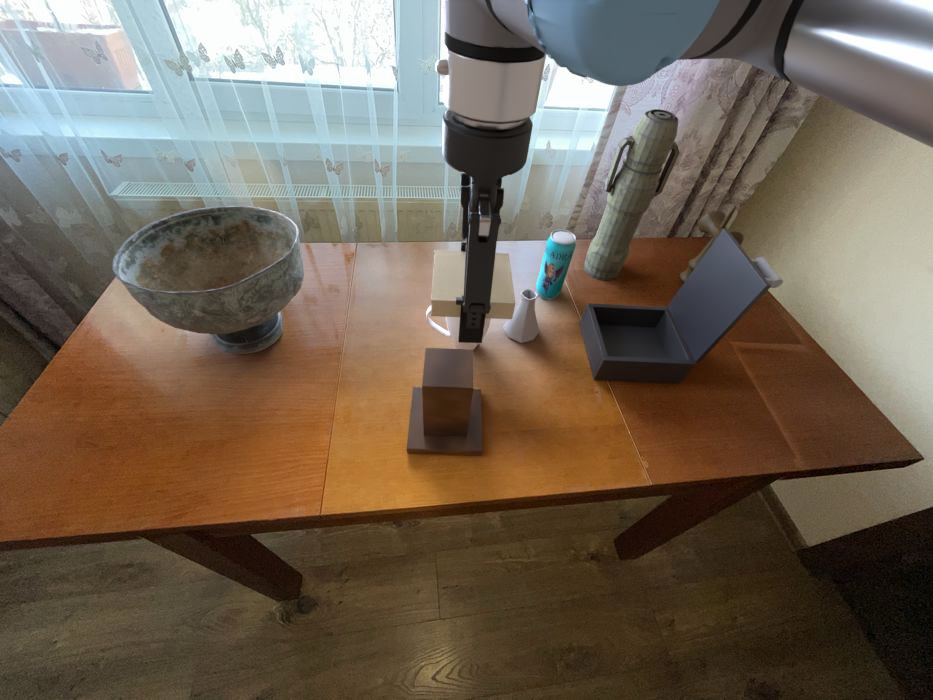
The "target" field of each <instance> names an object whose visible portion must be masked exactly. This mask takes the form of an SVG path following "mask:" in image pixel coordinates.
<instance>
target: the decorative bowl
mask: <svg viewBox="0 0 933 700" xmlns="http://www.w3.org/2000/svg"><path fill="white" fill-rule="evenodd" d="M111 267H112V268H111V269H112V271H113V273H114V276H115V278H116V279H117V280H118V281H120V282H121V284H122V285H123V286H124V288H125V289H126V290H127V291H128V293H129V294H130V296H131V297H132V298H133V299H134V300H135V301H136V302H137V303H138V304H139V305H141V306H142V307H143V308H144V309H145V310H147V312H148V313H149V314H150V316H152V317H154V318H155V319H157V320H158V321H160V322H162V323H164V324H166V325H168V326H170V327H173V328H174V329H178V330H181V331H187V332H192V333H196V334H204V335H205V334H206V335H211V336H212V339H213V341H214V343H215V345H216V347H218V348H219V349H220V350H222V351H223V352H226V353H230V354H233V355H246V354H253V353H257V352H260V351H264V350H265V349H267V348H268V347H270V346H272V345H274V344H275V343H276V342H277V341H278V340H279V339H280V338H281V336H283V333H284V321H283V315H282V313H281V311H283V309H284V308H285V307H286V306H288V304H289V303H290V302H291V300H292V299H294V298H295V297H296V296H297V294H298V293H299V291H300V290H301V288H302V285H303V282H304V278H305V269H304V260H303V257H302V249H301V241H300V231H299V228H298V226H297V224H296V223H295V221H293V220H292V219H291V218H290V217H288V216H287V215H285V214H282V213H280V212H278V211H275V210H271V209H267V208H263V207H257V206H251V205H217V206H209V207H208V206H207V207H202V208H201V207H200V208H193V209H189V210H186V211H181V212H177V213H174V214H171V215H168V216H166V217H163V218H160V219H157V220H155V221H153V222H151V223H149V224H147V225H146V226H144V227H141V228H140V230H138V231H136V232H134V234H132V235H131V236H129V237H128V238H127V239H126V240H125V241H124V242H123V243H122V244H121V245H120V247H119V248H118V250H117V251H116V253H115V254H114V256H113V259H112V266H111Z"/></svg>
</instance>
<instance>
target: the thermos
mask: <svg viewBox="0 0 933 700" xmlns="http://www.w3.org/2000/svg"><path fill="white" fill-rule="evenodd" d="M678 129H679V118H678V116H676V114H675V113H673V112H671V111H669V110H665V109H660V108H659V109H658V108H657V109H656V108H653V109H650V110H647V111H645V112H644V113H643V115H642V116H641V118H640V119H639V121H638V122H637V124H636V125H635V127H634V129H633V132H632V135H628V137H624V138H623V139H622V140H621V141H620V142H619V143H618V144H617V146H616V149H615V152H614V155H613V159H612V161H611V164H610V167H609V170H608V173H607V176H606V179H605V183H604V187H603V190H604V191H605V192H606V193H607V196H606V201H607V203H606V205H605V209H604V211H603V214H602V217H601V220H600V222H599V225H598V228H597V231H596V234H595V236H594V237H593V238H592V240H591V241H590V244H589V246H588V250H587V252H586V255H585V261H584V263H583V270H584V272H585V273H587V274H588V276H590V277H592V278H593V279H597V280H600V281H612V280H615V279H617V277H618V276H619V274H620V271H621V269H623V266H624V265H625V262H626V260H627V257H628V256H629V253H630V245H631V242H632V240H633V238H634V236H635V233H636V231H637V229H638V227H639V224H640V222H641V219H642V217H643V215H644V214H645V213H646V212H647V211H648V209H649V207H650V205H651V203H652V200H654V198H655V197H658V196H659V195H660V194H662V193H663V190H664V188H665V186H666V184H667V182H668V179H669V178H670V175H671V173H672V171H673V169H674V167H675V164H676V162H677V160H678V158H679V156H680V150H679V149H680V148H679V146H678V144H677V142H676V141H675V140H676V138H677V135H678ZM626 148H627V149H626ZM625 149H626V152H625V158H624V159H623V160H622V163H621V166H620V167H619V165H620V162H621V159H622V156H623V153H624V151H625ZM663 165H664V167H663ZM618 167H619V169H618Z"/></svg>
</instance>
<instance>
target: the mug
mask: <svg viewBox="0 0 933 700" xmlns="http://www.w3.org/2000/svg"><path fill="white" fill-rule="evenodd" d="M425 313H426V314H425V319H426V322H427V324H428V326H429V327H431V328H432V329H433V330H434V331H436V332H437V333H439V334H441V335H443V336H444V337H446V338H451V339H452V341H453V343H454V345H455V347H456V349H470V350H473V351H474V350H475V349H476V347H477V346H478V345H479V343H462V342H459V325H460V317H444V318H445V324H446V328H447V329H445V328H443V327H442V326H440V325H438V324H437V323H435V322H434V321H433V320H432V319H431V317H430V315H431V305H430V306H429V307H428V308H427V310H426V312H425ZM491 320H492V319H491V318H485V324H484V331H483V338H484V337H485V336H486V334H487V332H488V330H489V327H490V324H491Z"/></svg>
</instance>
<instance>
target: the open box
mask: <svg viewBox="0 0 933 700" xmlns="http://www.w3.org/2000/svg"><path fill="white" fill-rule="evenodd" d="M578 324H579V325H578V326H579V328H580V332H581V336H582V340H583V345H584V347H585V352H586V356H587V359H588V363H589V367H590V371H591V375H592V378H593V381H606V382H607V381H609V382H610V381H612V382H632V383H633V382H634V383H659V384H681V383H682V382H683V381H684V379H685V378H686V377H687V376H688V375H689V374H690V372H691V371H692V370H693V368H694V367H695V366H696V364H697V362H695V361H694V358H693V356H692V354H691V352H690V350H689V348H688V346H687V344H686V342H685V340H684V338H683V336H682V334H681V331H680V329H679V327H678V325H677V323H676V321H675V319H674V317H673V315H672V313H671V311H670V309H669V307H668V306H651V305H650V306H648V305H632V304H631V305H630V304H629V305H627V304H609V303H589V302H588V303H586V306H585V309H584V311H583V313H582V315H581V319H580V320H579V323H578Z"/></svg>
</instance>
